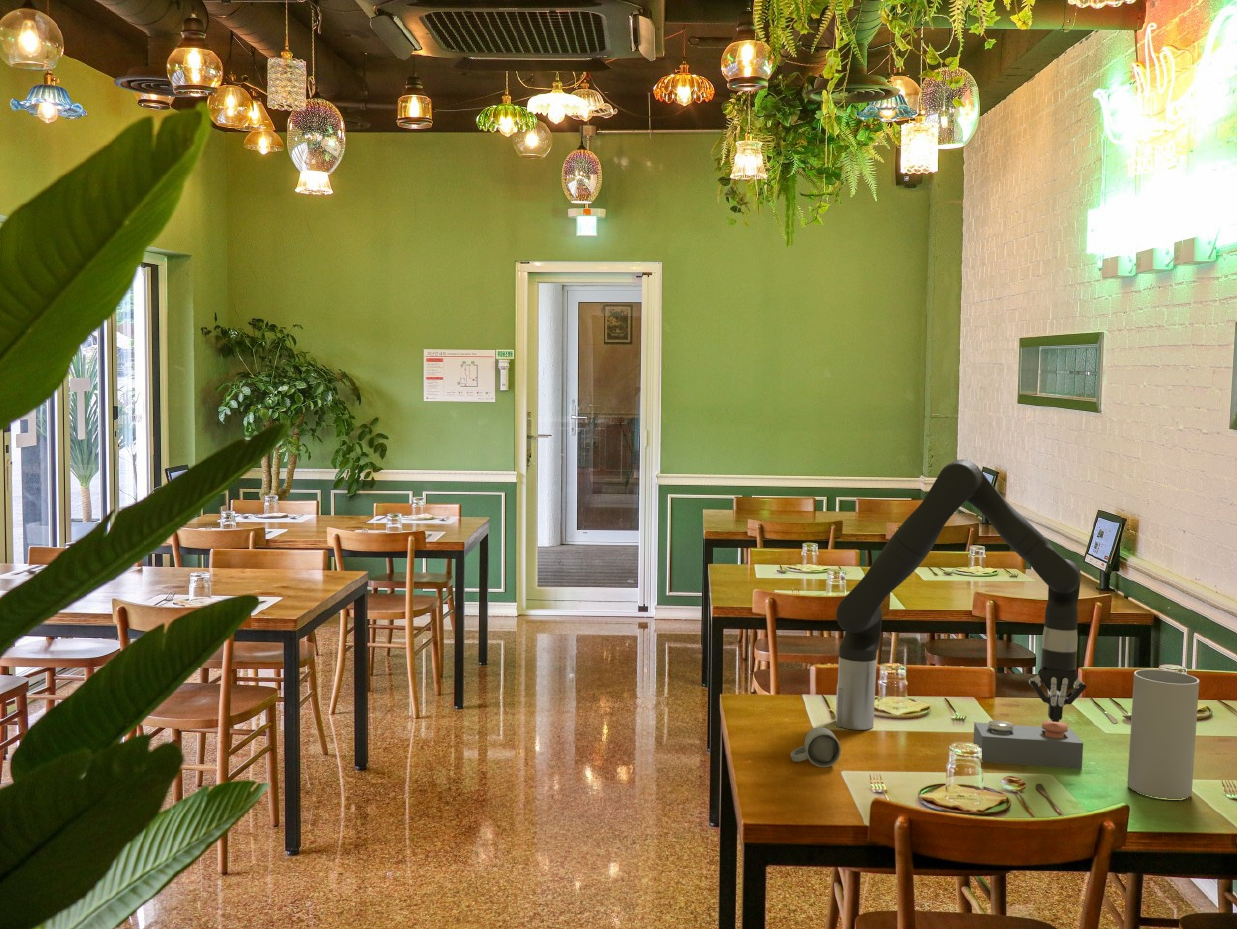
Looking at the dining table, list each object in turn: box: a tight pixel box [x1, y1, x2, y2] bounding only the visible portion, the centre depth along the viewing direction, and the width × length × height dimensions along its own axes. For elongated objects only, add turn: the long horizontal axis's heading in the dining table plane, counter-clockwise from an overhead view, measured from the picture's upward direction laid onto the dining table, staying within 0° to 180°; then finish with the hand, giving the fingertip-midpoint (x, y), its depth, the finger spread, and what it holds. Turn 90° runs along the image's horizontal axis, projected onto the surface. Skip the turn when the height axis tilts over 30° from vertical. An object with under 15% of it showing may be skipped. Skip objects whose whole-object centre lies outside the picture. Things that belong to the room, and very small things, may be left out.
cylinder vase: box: [1127, 668, 1200, 799], centre depth 244 cm, size 12×12×25 cm
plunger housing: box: [973, 721, 1084, 770], centre depth 265 cm, size 22×11×6 cm, turn 82°
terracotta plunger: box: [1041, 719, 1069, 738], centre depth 264 cm, size 6×6×6 cm
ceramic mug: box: [790, 726, 842, 768], centre depth 258 cm, size 11×8×8 cm
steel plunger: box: [987, 719, 1015, 734], centre depth 266 cm, size 6×6×6 cm
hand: (1054, 721), depth 264 cm, fingers closed
